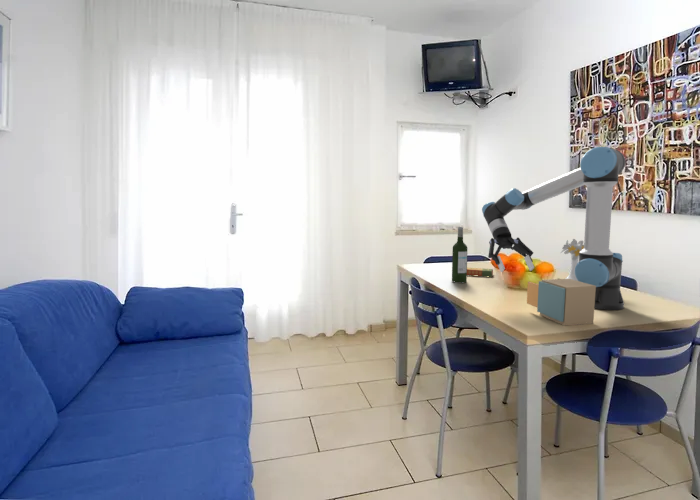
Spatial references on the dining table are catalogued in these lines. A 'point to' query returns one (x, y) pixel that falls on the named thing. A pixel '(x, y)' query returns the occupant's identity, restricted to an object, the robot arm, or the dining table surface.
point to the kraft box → (575, 301)
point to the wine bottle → (459, 259)
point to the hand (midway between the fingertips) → (517, 269)
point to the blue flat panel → (547, 299)
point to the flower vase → (573, 256)
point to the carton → (480, 272)
